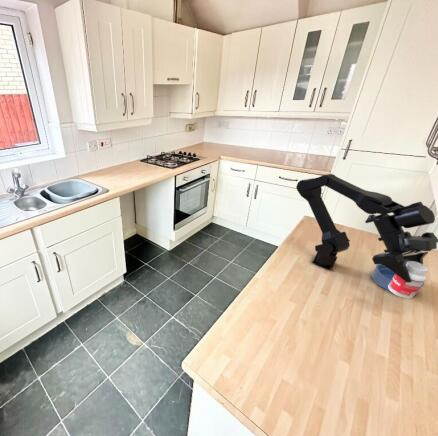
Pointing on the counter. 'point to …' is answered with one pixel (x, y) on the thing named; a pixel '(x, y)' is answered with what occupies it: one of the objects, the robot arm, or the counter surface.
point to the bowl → (385, 276)
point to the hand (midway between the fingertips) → (415, 279)
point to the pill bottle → (409, 289)
